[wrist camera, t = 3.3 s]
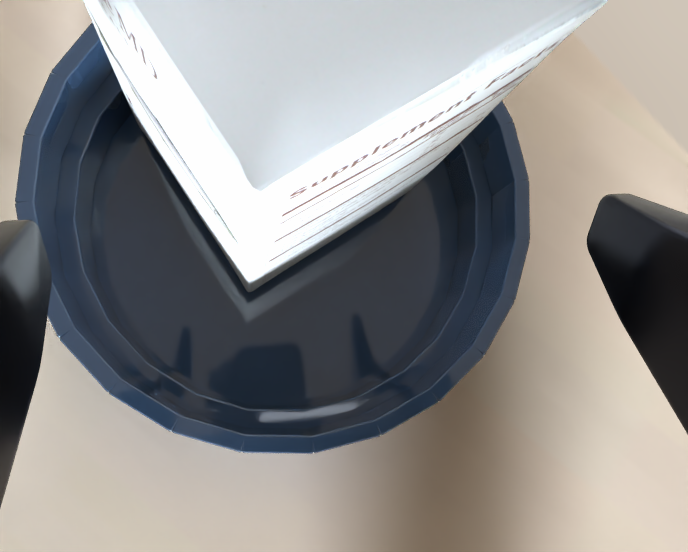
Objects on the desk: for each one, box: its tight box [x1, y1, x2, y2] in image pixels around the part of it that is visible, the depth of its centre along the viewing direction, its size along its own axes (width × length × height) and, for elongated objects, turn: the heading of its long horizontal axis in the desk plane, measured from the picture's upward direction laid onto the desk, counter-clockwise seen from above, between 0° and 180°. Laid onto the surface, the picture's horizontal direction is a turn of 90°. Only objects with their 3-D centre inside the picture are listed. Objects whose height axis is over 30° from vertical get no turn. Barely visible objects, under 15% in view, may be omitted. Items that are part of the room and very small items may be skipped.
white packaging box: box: [83, 0, 608, 292], centre depth 15 cm, size 7×7×13 cm
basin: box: [15, 22, 530, 454], centre depth 19 cm, size 15×15×4 cm
